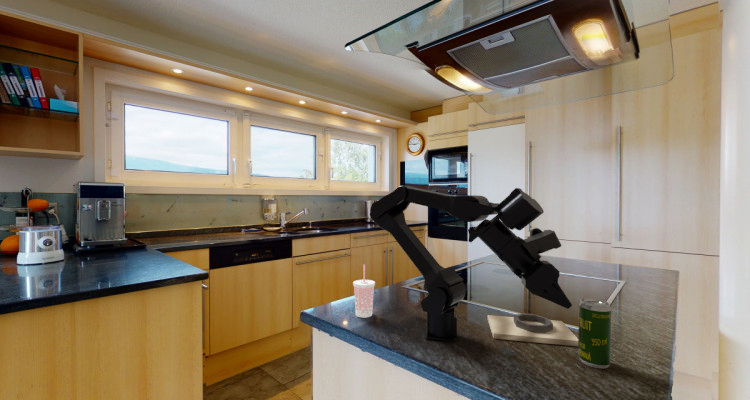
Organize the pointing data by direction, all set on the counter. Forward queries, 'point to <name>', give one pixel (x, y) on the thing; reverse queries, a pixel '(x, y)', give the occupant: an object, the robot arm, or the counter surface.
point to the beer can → (594, 333)
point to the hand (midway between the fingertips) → (561, 299)
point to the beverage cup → (364, 296)
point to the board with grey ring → (531, 329)
